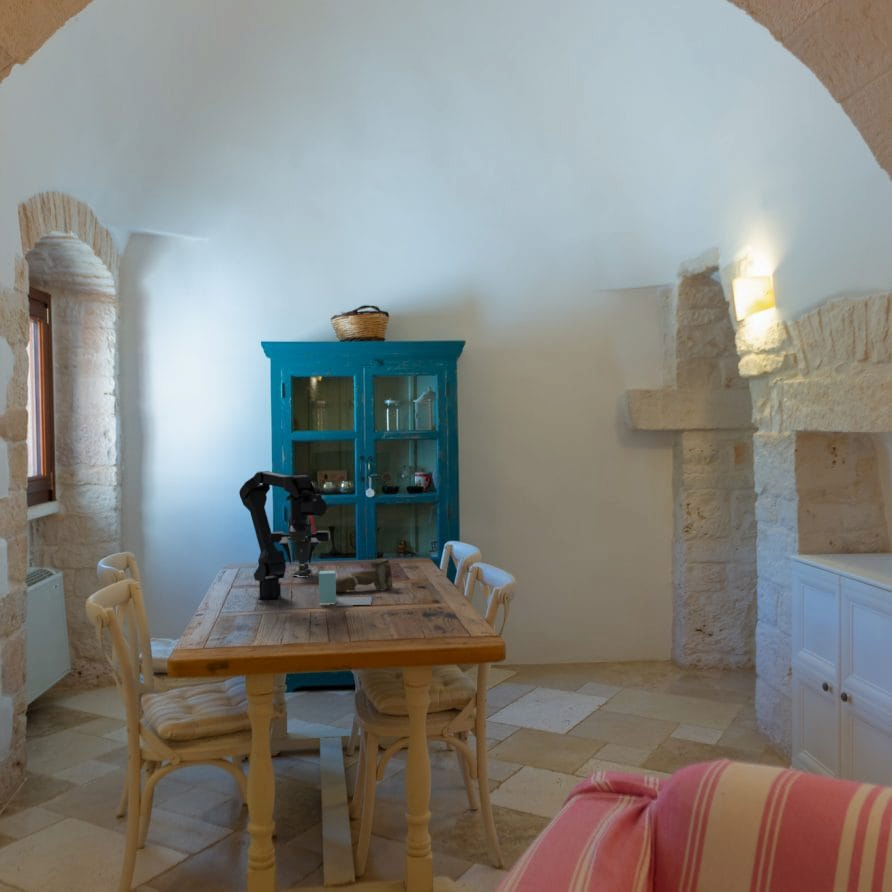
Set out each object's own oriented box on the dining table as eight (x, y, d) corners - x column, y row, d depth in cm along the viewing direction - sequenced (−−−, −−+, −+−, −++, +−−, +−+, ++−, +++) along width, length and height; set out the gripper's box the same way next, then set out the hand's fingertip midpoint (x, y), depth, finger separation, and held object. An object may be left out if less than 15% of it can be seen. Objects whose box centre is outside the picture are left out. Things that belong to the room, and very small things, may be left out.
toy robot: (297, 570, 334) (296, 495, 333) (320, 570, 333) (318, 495, 333) (284, 580, 312) (283, 500, 311) (309, 580, 311) (307, 499, 311)
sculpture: (348, 618, 291) (322, 586, 287) (395, 576, 299) (370, 544, 295) (355, 622, 284) (329, 589, 280) (403, 579, 292) (378, 546, 288)
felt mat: (336, 606, 263) (336, 605, 263) (338, 599, 275) (338, 597, 275) (371, 605, 264) (371, 604, 264) (371, 598, 276) (371, 596, 276)
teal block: (319, 605, 266) (318, 573, 266) (320, 601, 271) (319, 571, 271) (335, 604, 266) (334, 573, 266) (336, 601, 271) (335, 570, 271)
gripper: (266, 518, 259) (267, 568, 259) (327, 516, 260) (328, 566, 260) (271, 514, 270) (272, 562, 270) (329, 513, 271) (330, 561, 272)
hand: (300, 563), depth 268 cm, fingers open, 6 cm apart
